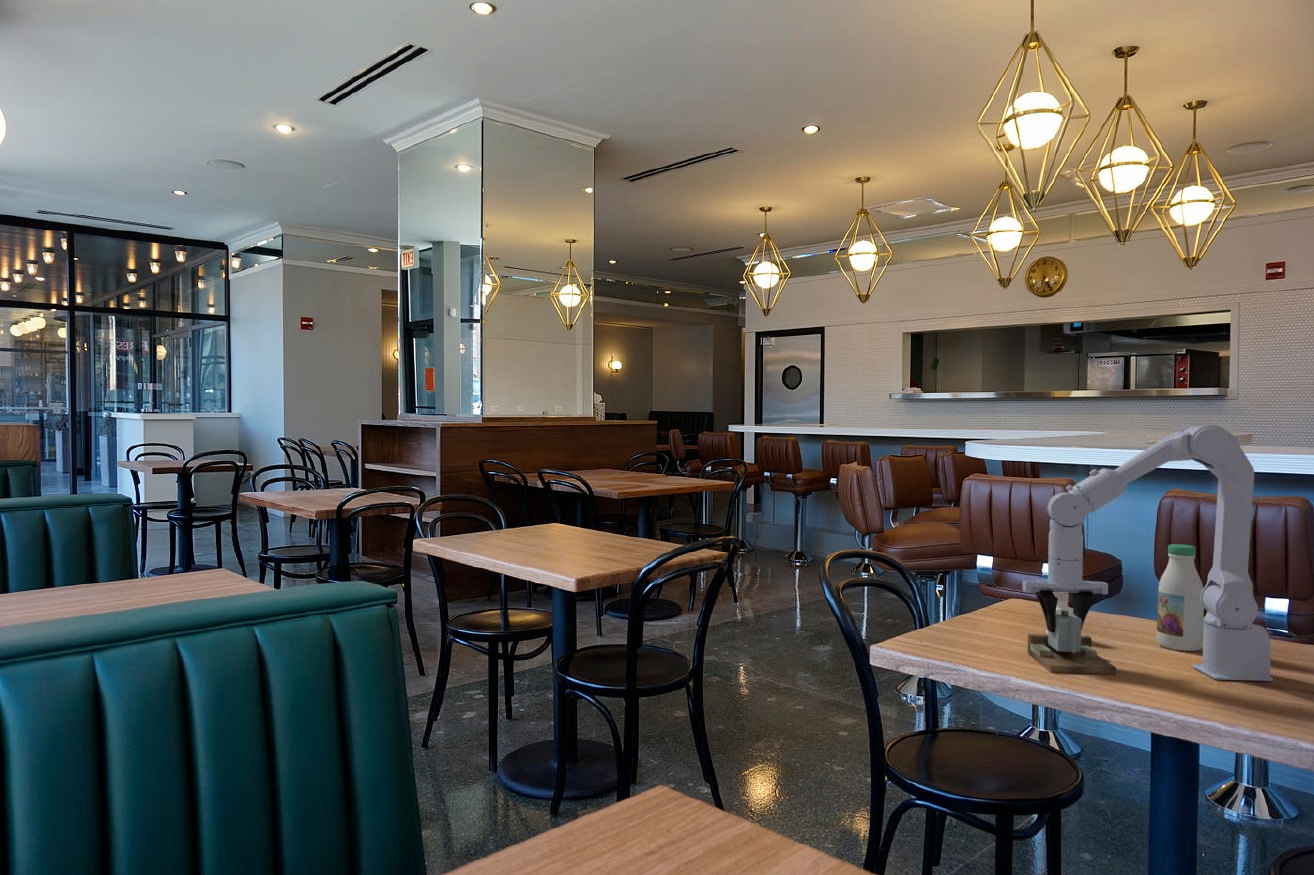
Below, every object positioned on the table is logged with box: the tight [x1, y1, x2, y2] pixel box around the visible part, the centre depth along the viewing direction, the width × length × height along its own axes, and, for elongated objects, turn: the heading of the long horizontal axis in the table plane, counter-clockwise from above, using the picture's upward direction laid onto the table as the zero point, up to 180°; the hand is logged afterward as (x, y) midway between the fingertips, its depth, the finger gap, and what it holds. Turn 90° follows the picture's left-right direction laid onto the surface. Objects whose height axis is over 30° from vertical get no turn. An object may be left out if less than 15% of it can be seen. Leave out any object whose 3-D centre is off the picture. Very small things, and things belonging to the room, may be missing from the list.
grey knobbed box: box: [1048, 610, 1082, 653], centre depth 157 cm, size 4×7×7 cm, turn 175°
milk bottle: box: [1156, 543, 1205, 652], centre depth 168 cm, size 8×8×20 cm
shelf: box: [1027, 633, 1117, 675], centre depth 157 cm, size 11×12×4 cm
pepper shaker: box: [1045, 592, 1073, 635], centre depth 175 cm, size 4×4×10 cm
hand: (1064, 631), depth 158 cm, fingers closed on grey knobbed box, 4 cm apart
